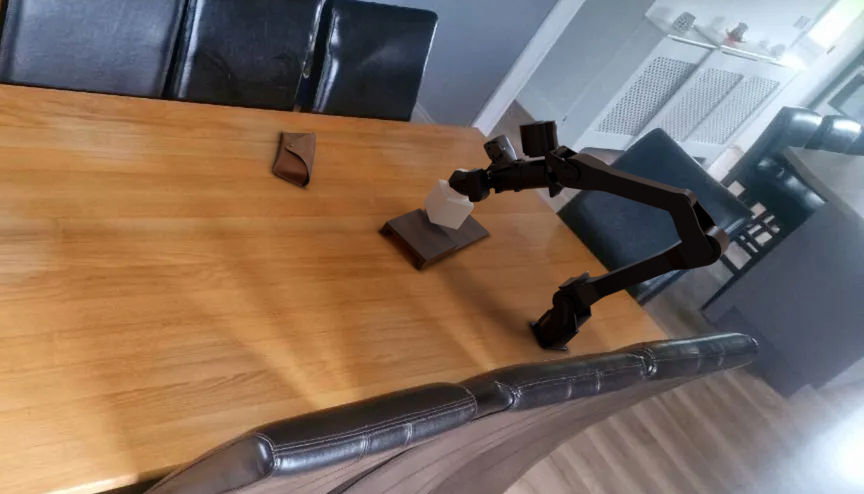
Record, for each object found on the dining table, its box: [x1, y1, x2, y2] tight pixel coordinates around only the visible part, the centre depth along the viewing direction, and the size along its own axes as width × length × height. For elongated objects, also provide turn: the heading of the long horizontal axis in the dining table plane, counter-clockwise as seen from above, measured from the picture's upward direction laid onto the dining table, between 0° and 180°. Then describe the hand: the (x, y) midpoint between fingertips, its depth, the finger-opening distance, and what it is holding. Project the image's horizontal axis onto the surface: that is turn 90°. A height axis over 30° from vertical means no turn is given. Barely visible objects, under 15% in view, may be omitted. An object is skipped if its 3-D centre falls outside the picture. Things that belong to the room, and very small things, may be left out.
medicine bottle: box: [423, 167, 475, 230], centre depth 153 cm, size 7×7×12 cm
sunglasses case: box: [272, 131, 317, 187], centre depth 157 cm, size 18×7×7 cm, turn 175°
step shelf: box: [379, 207, 490, 270], centre depth 158 cm, size 30×12×3 cm, turn 135°
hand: (456, 181), depth 152 cm, fingers closed on medicine bottle, 6 cm apart
